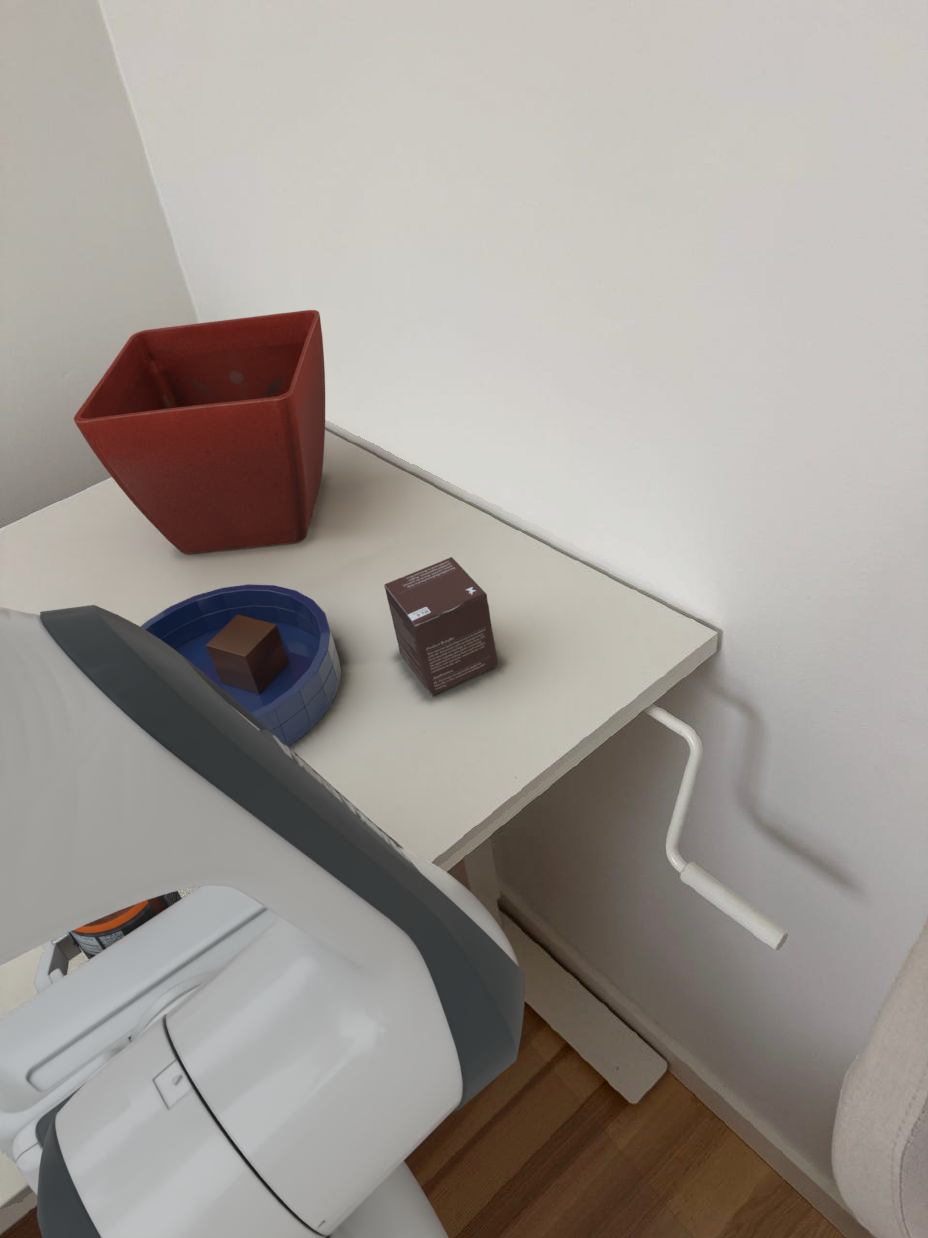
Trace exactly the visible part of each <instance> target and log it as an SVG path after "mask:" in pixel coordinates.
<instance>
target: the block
mask: <svg viewBox="0 0 928 1238" xmlns="http://www.w3.org/2000/svg"><path fill="white" fill-rule="evenodd" d="M206 647H207V649H208V652H209V654H210V657H211V659H212V662H213V664H214V667H215V669H216V672H217V674H218V677H219V679H220V681H221V683H224V684H227V685H230V686H234V687H237V688H240V689H243V690H247V691H250V692H253V693H257V694H260V693H261V692H262V691H263V690H264V689H265V688H266V687H267V686H268V685H269V684H270V683H271V682H272V680H273V679H274V678H275V677H276V676H277V675H278V674H279V673H280V672H281V671H282V670H283V669H284V668H285V666H286V665H287V664H288V663H289V660H288V657H287V654H286V651H285V648H284V645H283V642H282V639H281V636H280V633H279V630H278V627H277V625H276V624H272V623H269V622H265V621H261V620H257V619H253V618H249V617H246V616H242V615H237V616H236V617H235V618H233V619H232V620H231V621H230V622H229V623H228V624H227V625H226V626H225V627H224V628H223V629H222V630H221V631H220V632H219V633H218V634H217V635H216V636H215V637H214V638H213V639H212V640H211V641H210V642H209V643H208V644H207V645H206Z"/></svg>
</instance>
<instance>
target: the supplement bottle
mask: <svg viewBox="0 0 928 1238" xmlns="http://www.w3.org/2000/svg"><path fill="white" fill-rule="evenodd" d="M182 898H183V897H182V896H181V895H180V893H179V891H175V892H171V893H167V894H164V895H161V896H158V897H154V898H151V899H148V900H145V901H142V902H140V903H137V904H135V905H132V906H129V907H127V908H124V909H121V910H119V911H116V912H114V913H112V914H109V915H107V916H104V917H102V918H100V919H97V920H95V921H93V922H90V923H88V924H86V925H84V926H81V927H79V928H77V929H75V930H73V931H70V934H71V935H72V937H73V938H74V939H75V941H76V942H77V944H78V945H79V947H80V949H81V951H82V953H83V954H84V955H85V956H86V958H87V959H88V960H90V959H91V958H93V957H94V956H96V955H97V954H99V953H100V952H102V951H103V950H105V949H106V948H108V947H109V946H111V945H112V944H114V943H115V942H117V941H118V940H120V939H121V938H123V937H125V936H126V935H128V934H129V933H131V932H132V931H134V930H135V929H137V928H138V927H140V926H141V925H143V924H144V923H146V922H147V921H149V920H150V919H152V918H153V917H155V916H156V915H158V914H159V913H161V912H162V911H164V910H165V909H167V908H168V907H170V906H172V905H173V904H175V903H176V902H178V901H179V900H181V899H182Z"/></svg>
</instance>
